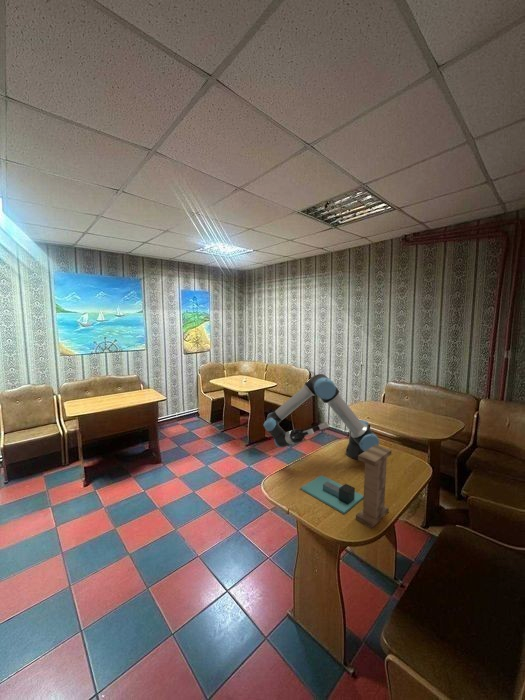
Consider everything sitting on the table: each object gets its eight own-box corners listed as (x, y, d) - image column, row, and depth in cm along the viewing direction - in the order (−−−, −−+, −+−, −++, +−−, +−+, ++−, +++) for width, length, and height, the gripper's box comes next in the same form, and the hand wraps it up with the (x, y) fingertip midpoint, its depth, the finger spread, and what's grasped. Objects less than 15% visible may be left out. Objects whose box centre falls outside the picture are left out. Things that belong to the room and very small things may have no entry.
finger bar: (328, 486, 152) (328, 475, 151) (354, 499, 140) (354, 487, 140) (321, 490, 148) (321, 479, 147) (347, 504, 136) (348, 492, 136)
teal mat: (321, 476, 162) (321, 475, 162) (363, 497, 143) (364, 496, 143) (300, 489, 150) (300, 487, 150) (344, 514, 131) (344, 512, 131)
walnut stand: (372, 503, 139) (375, 444, 135) (388, 511, 133) (391, 450, 130) (355, 519, 128) (358, 455, 125) (371, 528, 122) (374, 461, 119)
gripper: (310, 436, 175) (336, 428, 160) (282, 449, 158) (308, 441, 143) (305, 424, 177) (331, 415, 162) (277, 436, 160) (302, 426, 145)
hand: (320, 427), depth 153 cm, fingers open, 13 cm apart
